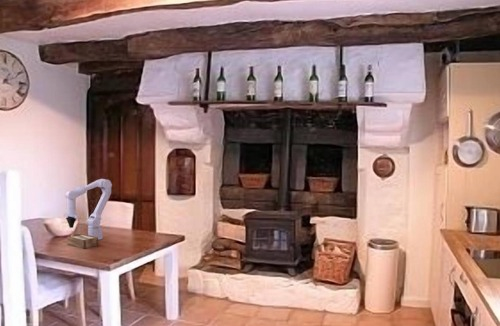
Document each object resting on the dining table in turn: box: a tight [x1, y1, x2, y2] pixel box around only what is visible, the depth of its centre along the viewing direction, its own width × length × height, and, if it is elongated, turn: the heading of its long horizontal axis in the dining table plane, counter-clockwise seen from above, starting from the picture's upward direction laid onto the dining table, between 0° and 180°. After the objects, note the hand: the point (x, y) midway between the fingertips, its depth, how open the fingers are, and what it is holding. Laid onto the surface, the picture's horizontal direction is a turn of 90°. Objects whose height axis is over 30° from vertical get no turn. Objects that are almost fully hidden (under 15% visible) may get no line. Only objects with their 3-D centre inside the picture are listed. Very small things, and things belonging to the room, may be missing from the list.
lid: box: [70, 232, 94, 240], centre depth 320 cm, size 9×16×2 cm, turn 55°
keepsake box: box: [67, 233, 99, 250], centre depth 320 cm, size 11×18×6 cm, turn 55°
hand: (71, 227), depth 328 cm, fingers closed
